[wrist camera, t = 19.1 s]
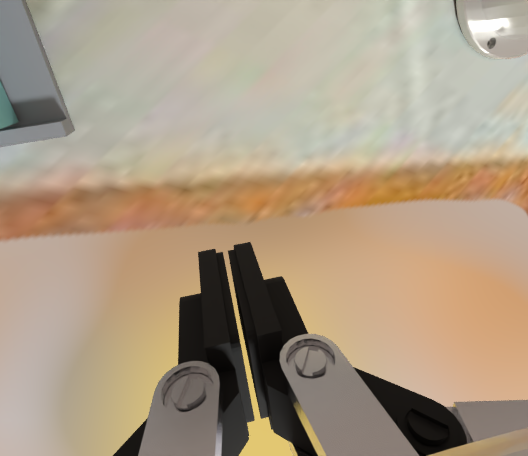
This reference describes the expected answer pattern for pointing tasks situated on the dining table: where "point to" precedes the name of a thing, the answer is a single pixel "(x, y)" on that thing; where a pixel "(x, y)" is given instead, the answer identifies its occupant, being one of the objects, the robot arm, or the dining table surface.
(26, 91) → the tray
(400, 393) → the robot arm
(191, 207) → the dining table surface
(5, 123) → the clamp jaw
